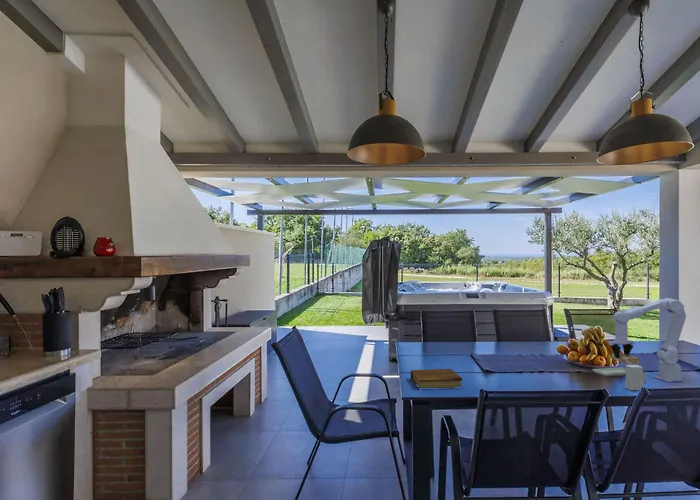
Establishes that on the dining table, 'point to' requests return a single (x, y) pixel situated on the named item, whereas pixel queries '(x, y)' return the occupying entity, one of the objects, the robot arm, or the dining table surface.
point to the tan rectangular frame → (626, 358)
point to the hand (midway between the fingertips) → (621, 357)
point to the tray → (611, 371)
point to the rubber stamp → (644, 378)
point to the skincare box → (634, 377)
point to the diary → (436, 378)
